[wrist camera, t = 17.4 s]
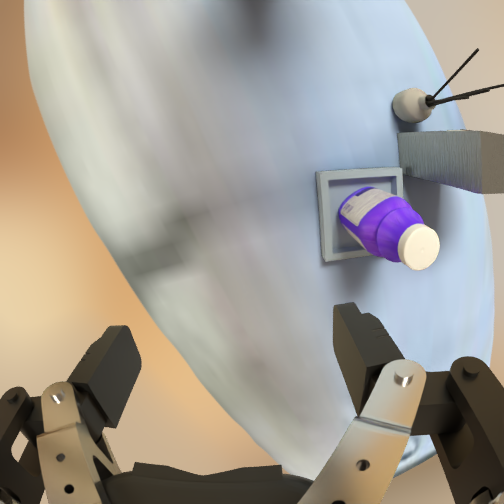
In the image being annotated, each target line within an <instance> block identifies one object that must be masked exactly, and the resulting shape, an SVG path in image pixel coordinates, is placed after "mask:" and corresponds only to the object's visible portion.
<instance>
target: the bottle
mask: <svg viewBox="0 0 504 504" xmlns="http://www.w3.org/2000/svg"><path fill="white" fill-rule="evenodd" d="M338 214H339V219H340V221H341V224H342V226H343V227H344V229H345V230H347V232H348V233H349V234H350V235H351V236H352V237H353V238H354V239H355V240H356V241H357V242H358V243H359V244H360V245H361V246H363V247H364V248H365V249H366V250H367V251H368V252H369V253H371V254H373V255H375V256H378V257H384V258H386V259H387V260H389V261H392V262H402V263H404V264H405V265H407V266H408V267H409V268H411V269H413V270H423V269H426V268H427V267H429V266H430V265H431V264H432V263H433V262H434V260H435V259H436V257H437V255H438V252H439V247H440V243H439V238H438V235H437V234H436V232H435V231H434V230H433V229H431V228H429V227H428V226H426V225H424V222H423V220H422V218H421V216H420V215H419V214H418V213H417V212H416V211H414V210H413V209H412V207H411V206H410V204H409V203H407V202H406V201H405V200H404V199H403V198H401V197H398V196H396V195H393V194H390V193H388V192H385V191H382V190H380V189H377V188H375V187H364V188H361V189H359V190H357V191H355V192H353V193H352V194H351V195H349V196H348V197H347V198H346V199H345V200H344V201H343V202H342V204H341V205H340V207H339V212H338Z"/></svg>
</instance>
